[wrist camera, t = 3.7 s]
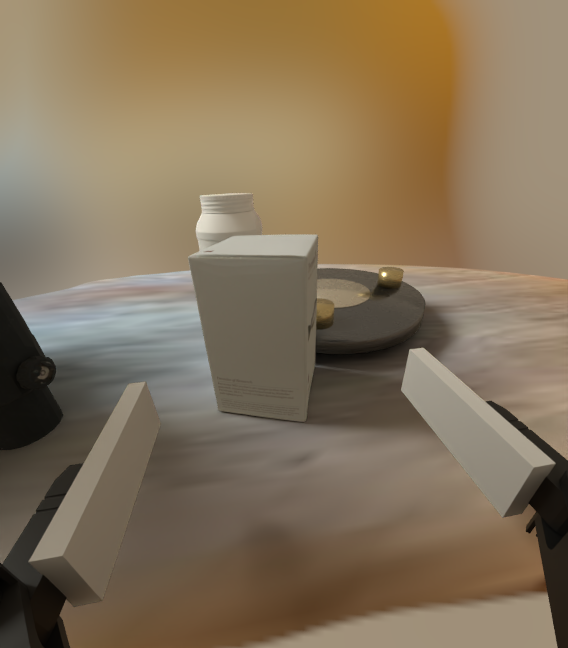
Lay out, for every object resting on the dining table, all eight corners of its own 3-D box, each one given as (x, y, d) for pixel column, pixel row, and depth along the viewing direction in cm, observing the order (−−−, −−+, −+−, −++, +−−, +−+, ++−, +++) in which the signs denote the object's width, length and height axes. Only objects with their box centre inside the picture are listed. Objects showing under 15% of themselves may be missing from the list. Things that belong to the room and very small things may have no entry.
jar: (258, 296, 43) (249, 194, 36) (201, 297, 44) (182, 197, 37) (267, 275, 54) (261, 192, 47) (221, 275, 54) (208, 194, 47)
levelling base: (214, 351, 29) (205, 305, 27) (275, 285, 48) (273, 254, 45) (436, 382, 23) (452, 327, 21) (408, 293, 42) (414, 258, 40)
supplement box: (307, 425, 20) (308, 255, 14) (215, 412, 21) (181, 254, 16) (317, 366, 26) (320, 232, 20) (246, 359, 28) (230, 233, 22)
